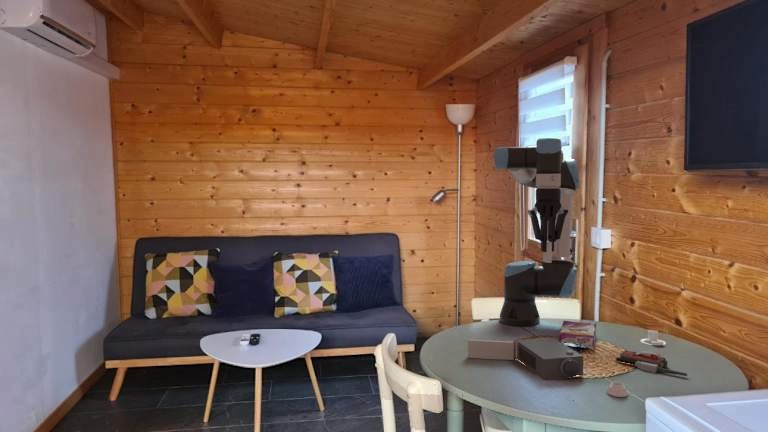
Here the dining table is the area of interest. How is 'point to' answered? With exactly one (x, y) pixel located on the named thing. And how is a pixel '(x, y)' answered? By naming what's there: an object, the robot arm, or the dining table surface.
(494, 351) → the side door
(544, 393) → the dining table surface
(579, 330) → the candy bar box
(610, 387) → the pink dome
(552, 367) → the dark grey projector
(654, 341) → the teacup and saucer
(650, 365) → the walkie-talkie
